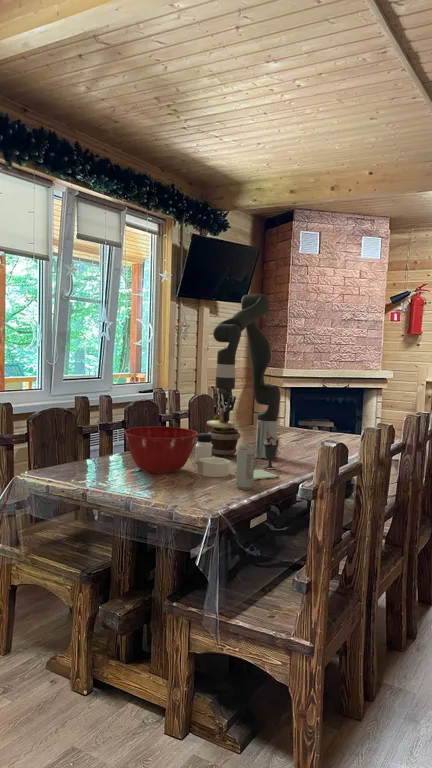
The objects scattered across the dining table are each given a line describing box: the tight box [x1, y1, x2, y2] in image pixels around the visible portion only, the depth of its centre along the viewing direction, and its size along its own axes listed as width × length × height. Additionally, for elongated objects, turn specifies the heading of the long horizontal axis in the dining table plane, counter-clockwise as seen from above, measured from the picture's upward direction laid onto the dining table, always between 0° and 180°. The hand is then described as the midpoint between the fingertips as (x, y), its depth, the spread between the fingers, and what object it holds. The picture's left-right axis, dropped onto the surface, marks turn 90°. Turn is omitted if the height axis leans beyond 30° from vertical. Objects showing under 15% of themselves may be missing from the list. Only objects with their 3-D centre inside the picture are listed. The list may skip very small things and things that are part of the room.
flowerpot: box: [207, 413, 242, 458], centre depth 253 cm, size 14×15×20 cm
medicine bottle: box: [194, 432, 213, 464], centre depth 236 cm, size 7×7×12 cm
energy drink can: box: [235, 443, 256, 491], centre depth 192 cm, size 6×6×15 cm
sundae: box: [263, 433, 280, 468], centre depth 227 cm, size 7×7×15 cm
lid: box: [206, 408, 241, 429], centre depth 213 cm, size 13×13×7 cm
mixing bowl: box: [123, 425, 199, 475], centre depth 214 cm, size 28×28×15 cm
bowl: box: [196, 456, 232, 478], centre depth 214 cm, size 12×12×5 cm
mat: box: [235, 469, 280, 481], centre depth 213 cm, size 12×12×1 cm
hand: (223, 420), depth 213 cm, fingers closed on lid, 3 cm apart
